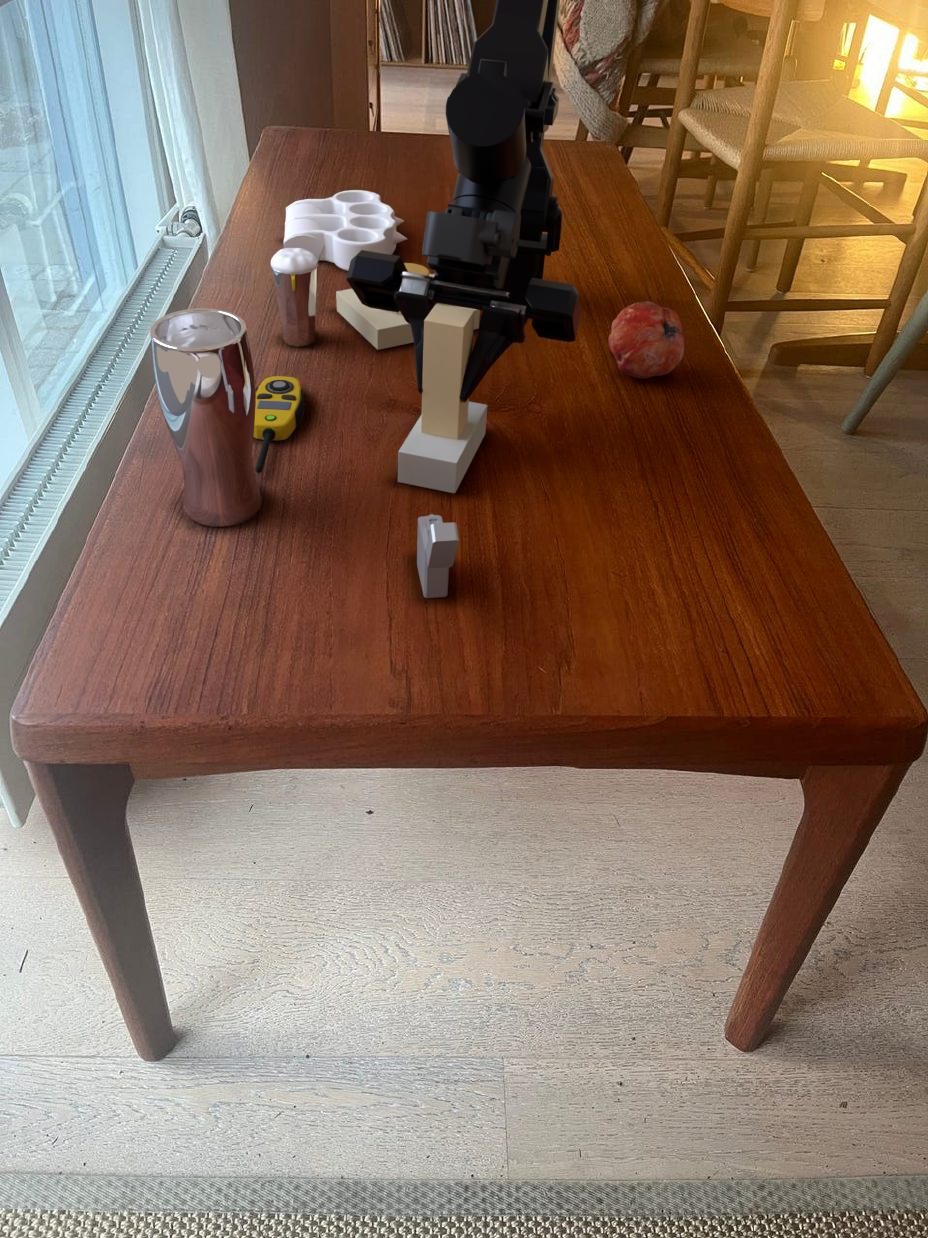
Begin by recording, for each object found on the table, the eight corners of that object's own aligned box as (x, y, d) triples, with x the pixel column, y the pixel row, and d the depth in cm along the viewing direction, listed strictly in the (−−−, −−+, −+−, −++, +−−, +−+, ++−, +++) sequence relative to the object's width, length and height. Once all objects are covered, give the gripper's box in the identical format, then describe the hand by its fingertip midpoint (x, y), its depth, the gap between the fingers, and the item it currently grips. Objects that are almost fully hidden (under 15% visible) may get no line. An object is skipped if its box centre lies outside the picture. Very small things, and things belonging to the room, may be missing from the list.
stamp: (485, 434, 88) (496, 295, 79) (455, 493, 81) (463, 347, 72) (432, 424, 89) (437, 285, 80) (397, 482, 82) (399, 336, 73)
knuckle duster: (287, 215, 125) (401, 216, 127) (284, 272, 112) (411, 272, 114) (285, 188, 123) (401, 190, 125) (281, 243, 110) (411, 244, 112)
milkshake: (321, 353, 98) (316, 254, 91) (270, 346, 98) (261, 247, 92) (334, 334, 101) (331, 237, 95) (285, 327, 102) (278, 230, 95)
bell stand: (434, 292, 110) (435, 257, 108) (479, 328, 104) (481, 292, 101) (336, 310, 105) (335, 274, 103) (377, 349, 99) (377, 312, 96)
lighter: (416, 562, 74) (418, 473, 68) (439, 561, 74) (442, 472, 69) (430, 625, 68) (433, 534, 63) (454, 623, 69) (459, 532, 63)
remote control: (308, 373, 91) (286, 460, 80) (310, 392, 92) (288, 480, 81) (256, 371, 91) (227, 458, 79) (258, 389, 92) (229, 478, 81)
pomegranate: (589, 387, 100) (638, 369, 91) (586, 314, 100) (634, 288, 90) (653, 387, 102) (707, 369, 93) (650, 316, 102) (704, 291, 92)
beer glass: (282, 491, 80) (266, 317, 70) (240, 539, 75) (217, 359, 65) (207, 473, 81) (181, 299, 71) (161, 518, 76) (126, 338, 66)
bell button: (416, 276, 104) (416, 259, 103) (436, 291, 102) (436, 275, 101) (379, 282, 103) (379, 266, 102) (398, 299, 100) (398, 282, 99)
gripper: (351, 143, 74) (303, 342, 73) (594, 178, 71) (546, 386, 70) (385, 215, 85) (344, 388, 84) (597, 248, 82) (555, 428, 81)
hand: (441, 396), depth 79 cm, fingers closed on stamp, 3 cm apart
